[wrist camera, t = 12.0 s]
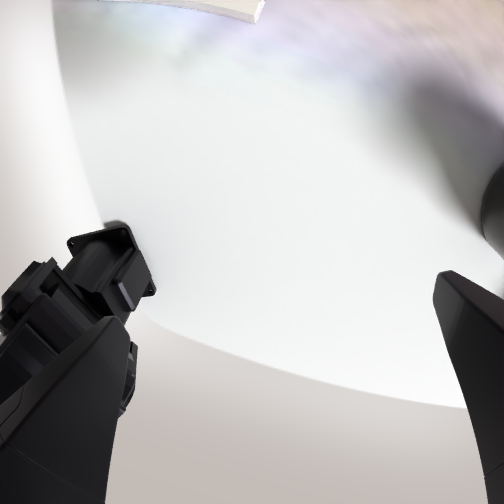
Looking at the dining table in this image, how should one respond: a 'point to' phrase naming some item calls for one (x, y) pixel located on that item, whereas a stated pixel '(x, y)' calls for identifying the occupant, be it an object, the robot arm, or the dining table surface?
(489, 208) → the ink bottle
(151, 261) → the dining table surface
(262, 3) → the trivet
